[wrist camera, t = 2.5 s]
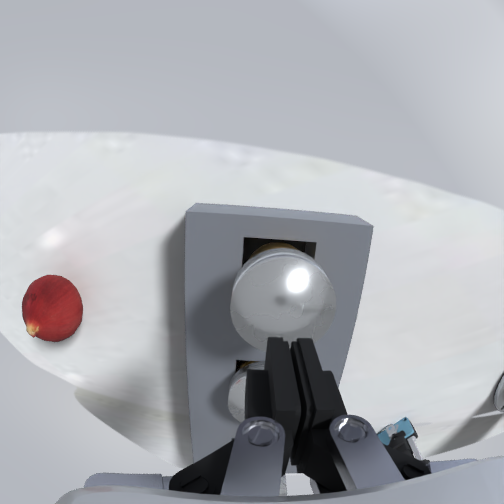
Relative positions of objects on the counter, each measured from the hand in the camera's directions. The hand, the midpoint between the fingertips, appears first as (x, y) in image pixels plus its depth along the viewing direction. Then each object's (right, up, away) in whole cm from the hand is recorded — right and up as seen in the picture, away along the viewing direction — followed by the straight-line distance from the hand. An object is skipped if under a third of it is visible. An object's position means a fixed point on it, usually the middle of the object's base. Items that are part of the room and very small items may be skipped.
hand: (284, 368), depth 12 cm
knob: (+1, +3, +11) cm, 12 cm away
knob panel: (0, -5, +17) cm, 18 cm away
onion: (-19, +1, +16) cm, 25 cm away
